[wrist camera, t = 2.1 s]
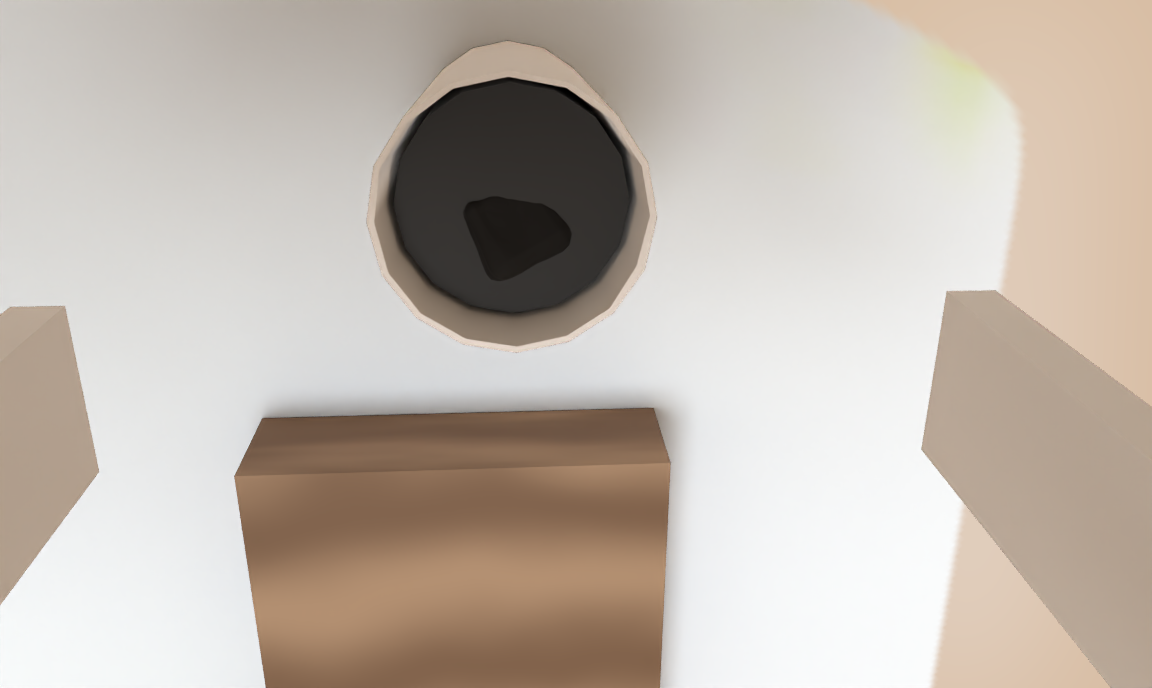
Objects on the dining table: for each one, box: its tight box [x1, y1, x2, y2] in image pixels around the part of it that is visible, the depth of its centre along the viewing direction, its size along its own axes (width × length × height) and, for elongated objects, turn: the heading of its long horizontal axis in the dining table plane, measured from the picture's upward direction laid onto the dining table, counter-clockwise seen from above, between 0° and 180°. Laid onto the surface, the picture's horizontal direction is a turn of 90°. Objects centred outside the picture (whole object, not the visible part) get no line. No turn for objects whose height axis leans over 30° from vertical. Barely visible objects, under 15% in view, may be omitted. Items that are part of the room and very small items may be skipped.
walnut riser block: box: [234, 408, 670, 688], centre depth 37 cm, size 16×14×4 cm
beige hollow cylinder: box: [367, 41, 657, 353], centre depth 27 cm, size 7×7×10 cm
